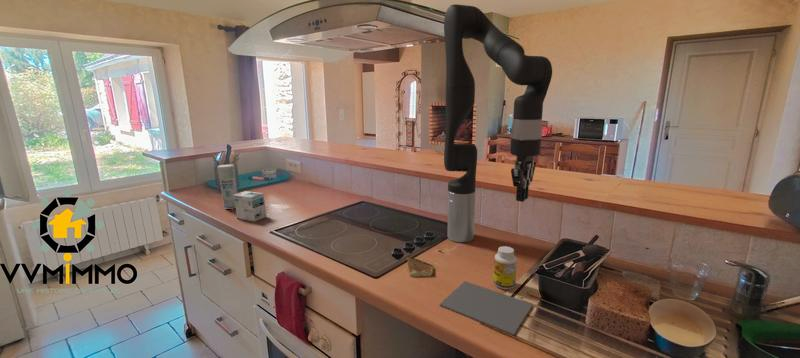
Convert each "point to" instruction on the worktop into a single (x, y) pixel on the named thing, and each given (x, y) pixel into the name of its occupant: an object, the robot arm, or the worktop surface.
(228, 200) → the spray can
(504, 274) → the supplement bottle
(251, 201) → the light bulb box
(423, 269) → the shard
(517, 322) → the mat
